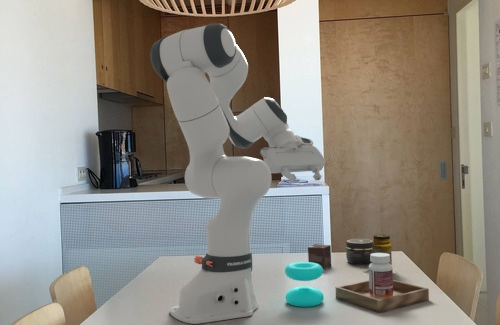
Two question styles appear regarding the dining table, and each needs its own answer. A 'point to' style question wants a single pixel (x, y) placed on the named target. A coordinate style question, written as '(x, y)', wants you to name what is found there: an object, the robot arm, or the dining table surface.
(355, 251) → the jar
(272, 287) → the dining table surface
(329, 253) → the box
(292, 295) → the donuts
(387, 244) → the condiment
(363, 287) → the tray
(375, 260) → the pill bottle
